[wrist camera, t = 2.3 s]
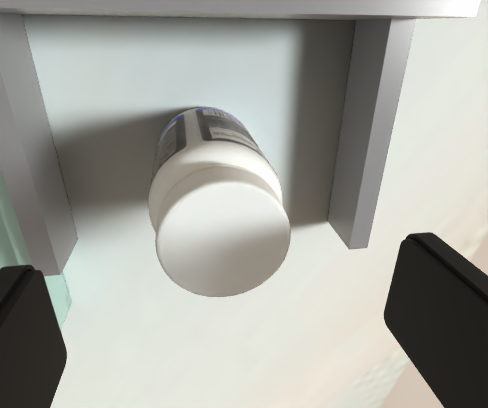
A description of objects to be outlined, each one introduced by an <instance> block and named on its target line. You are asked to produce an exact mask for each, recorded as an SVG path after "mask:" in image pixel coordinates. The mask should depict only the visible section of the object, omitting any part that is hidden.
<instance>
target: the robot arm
mask: <svg viewBox="0 0 488 408" xmlns="http://www.w3.org/2000/svg"><path fill="white" fill-rule="evenodd" d="M384 320H385V323H386V325H387V327H388V328H389V330H390V331H391V333H392V334H393V336H394V337H395V338H396V340H397V341H398V343H399V344H400V346H401V347H402V348H403V350H404V351H405V353H406V354H407V355H408V357H409V358H410V360H411V361H412V362H413V364H414V365H415V367H416V368H417V369H418V371H419V372H420V374H421V375H422V377H423V378H424V380H425V381H426V382H427V384H428V385H429V386H430V388H431V389H432V391H433V392H434V394H435V395H436V397H437V398H438V399H439V401H440V402H441V404H442V405H443V406H444V408H488V276H487V275H486V274H485V273H484V272H482V271H481V270H480V269H478V268H477V267H475V266H474V265H473V264H472V263H471V262H469V261H468V260H467V259H466V258H464V257H463V256H462V255H461V254H459V253H458V252H457V251H455V250H454V249H453V248H452V247H450V246H449V245H448V244H446V243H445V242H444V241H443V240H441V239H440V238H439V237H437V236H436V235H435V234H433V233H429V232H427V233H415V234H409V235H408V236H407V237H406V239H405V240H403V241H402V242H401V245H400V249H399V253H398V257H397V261H396V265H395V269H394V273H393V277H392V282H391V286H390V290H389V294H388V298H387V302H386V306H385V310H384ZM66 359H67V351H66V347H65V344H64V340H63V337H62V334H61V331H60V327H59V324H58V321H57V318H56V314H55V311H54V308H53V304H52V301H51V298H50V295H49V291H48V288H47V285H46V282H45V278H44V275H43V273H42V271H41V270H35V268H34V267H33V266H32V265H17V266H5V267H2V268H1V269H0V408H50V406H51V404H52V401H53V398H54V395H55V392H56V390H57V387H58V384H59V381H60V379H61V376H62V373H63V370H64V368H65V364H66Z"/></svg>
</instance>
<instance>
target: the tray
mask: <svg viewBox="0 0 488 408" xmlns="http://www.w3.org/2000/svg"><path fill="white" fill-rule="evenodd" d="M17 265H32V266H33V264H32V261H31V258H30V255H29V252H28V249H27V246H26V243H25V240H24V237H23V234H22V231H21V228H20V225H19V222H18V219H17V216H16V213H15V210H14V207H13V204H12V201H11V199H10V196H9V193H8V190H7V187H6V184H5V181H4V178H3V175H2V172H1V169H0V269H1V268H2V267H5V266H17ZM44 278H45V282H46V285H47V288H48V291H49V295H50V298H51V301H52V304H53V308H54V311H55V314H56V318H57V321H58V324H59V327H60V331H61V328H62V326H63V323H64V321H65V318H66V316H67V313H68V311H69V308H70V305H71V303H72V302H71V298H70V295H69V292H68V288H67V285H66V281H65V278H64V274H63V271H62V273H61V275H54V276H44Z"/></svg>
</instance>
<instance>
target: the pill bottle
mask: <svg viewBox="0 0 488 408" xmlns="http://www.w3.org/2000/svg"><path fill="white" fill-rule="evenodd" d="M148 208H149V216H150V220H151V223H152V226H153V228H154V230H155V232H156V240H155V241H156V252H157V256H158V259H159V262H160V264H161V266H162V268H163V270H164V271H165V273H166V274H167V275H168V276H169V277H170V279H171V280H172V281H174V282H175V283H176V284H177V285H179V286H180V287H182V288H184V289H186V290H188V291H190V292H192V293H195V294H198V295H203V296H208V297H226V296H233V295H238V294H241V293H244V292H247V291H249V290H251V289H253V288H255V287H257V286H259V285H261V284H262V283H263V282H265V281H266V280H267V279H268V278H270V277H271V276H272V275H273V274H274V273H275V272H276V271H277V270H278V268H279V267H280V266H281V264H282V262H283V261H284V259H285V257H286V254H287V251H288V248H289V244H290V224H289V220H288V217H287V214H286V212H285V210H284V208H283V206H282V191H281V186H280V183H279V180H278V177H277V174H276V172H275V171H274V169H273V167H272V166H271V165H270V163H269V162H268V160H267V159H266V158H265V156H264V155H263V153H262V152H261V150H260V149H259V147H258V145H257V144H256V143H255V141H254V140H253V138H252V137H251V135H250V134H249V132H248V131H247V129H246V128H245V127H244V125H243V124H242V123H241V122H240V121H239V120H238V119H237V118H236V117H234V116H233V115H231V114H230V113H228V112H226V111H223V110H221V109H217V108H212V107H200V108H194V109H190V110H187V111H185V112H183V113H181V114H179V115H177V116H176V117H175V118H173V119H172V120H171V121H170V122H169V123H168V125H167V126H166V127H165V129H164V130H163V132H162V134H161V137H160V139H159V142H158V147H157V152H156V157H155V162H154V167H153V174H152V180H151V186H150V191H149V196H148Z"/></svg>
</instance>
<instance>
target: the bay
mask: <svg viewBox="0 0 488 408" xmlns="http://www.w3.org/2000/svg"><path fill="white" fill-rule="evenodd" d="M479 3H480V0H0V169H1V172H2V175H3V178H4V181H5V184H6V187H7V190H8V193H9V196H10V199H11V201H12V204H13V207H14V210H15V213H16V216H17V219H18V222H19V225H20V228H21V231H22V234H23V237H24V240H25V243H26V246H27V249H28V252H29V255H30V258H31V261H32V264H33V267H34V268H35V270H41V271H42V273H43V275H44V276H54V275H61V273H62V271H63V269H64V267H65V265H66V263H67V260H68V258H69V256H70V254H71V252H72V250H73V248H74V246H75V244H76V242H77V240H78V238H77V234H76V230H75V226H74V222H73V218H72V214H71V210H70V206H69V202H68V198H67V194H66V190H65V186H64V182H63V178H62V174H61V170H60V166H59V162H58V158H57V154H56V150H55V146H54V142H53V138H52V134H51V130H50V126H49V122H48V118H47V114H46V110H45V106H44V102H43V98H42V94H41V90H40V86H39V82H38V78H37V74H36V70H35V66H34V62H33V58H32V54H31V50H30V46H29V42H28V38H27V34H26V30H25V26H24V22H23V18H22V14H47V15H104V16H161V17H219V18H276V19H333V20H356V24H355V31H354V38H353V45H352V52H351V59H350V66H349V73H348V80H347V87H346V94H345V101H344V108H343V115H342V122H341V129H340V136H339V143H338V150H337V157H336V164H335V171H334V178H333V185H332V192H331V199H330V206H329V213H328V220H327V221H328V222H329V223H330V225H331V226H332V227H333V229H334V230H335V231H336V233H337V234H338V235H339V237H340V238H341V239H342V241H343V242H344V243H345V245H346V246H347V247H348V249H360V248H367V247H368V242H369V237H370V232H371V228H372V223H373V218H374V214H375V209H376V204H377V200H378V195H379V190H380V186H381V181H382V176H383V172H384V167H385V162H386V158H387V153H388V148H389V143H390V139H391V134H392V129H393V125H394V120H395V115H396V111H397V106H398V101H399V97H400V92H401V87H402V83H403V78H404V73H405V68H406V64H407V59H408V54H409V50H410V45H411V40H412V36H413V31H414V26H415V22H416V19H431V18H462V17H476V13H477V10H478V6H479Z"/></svg>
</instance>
